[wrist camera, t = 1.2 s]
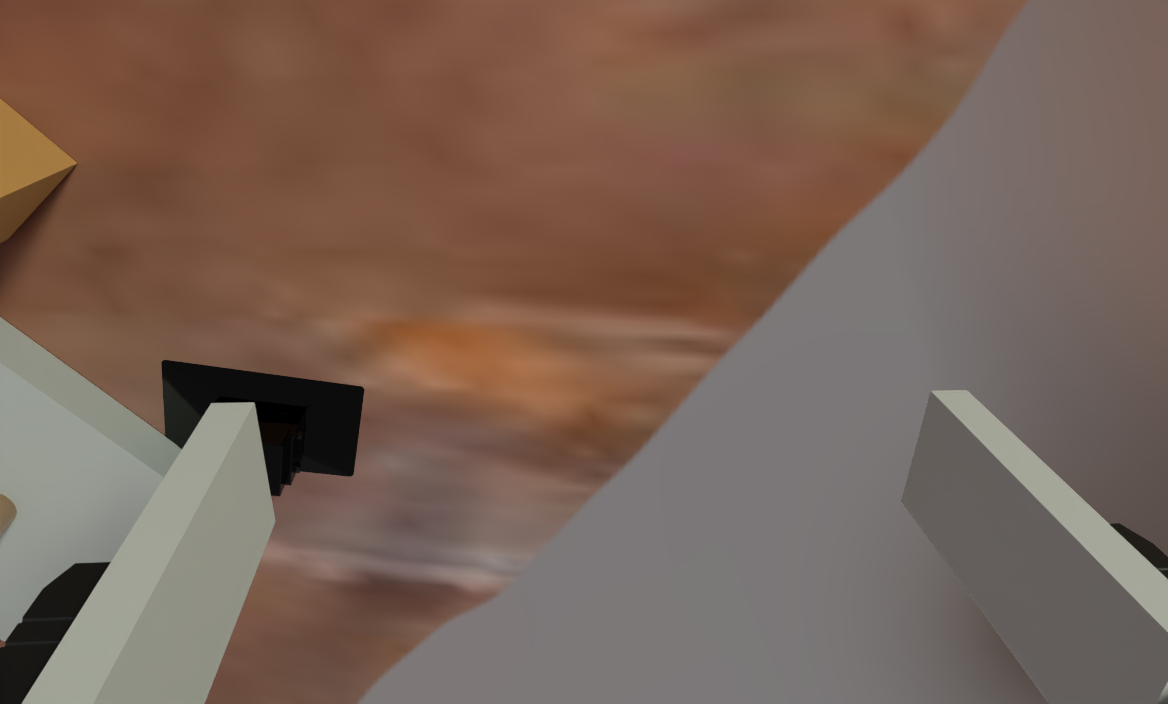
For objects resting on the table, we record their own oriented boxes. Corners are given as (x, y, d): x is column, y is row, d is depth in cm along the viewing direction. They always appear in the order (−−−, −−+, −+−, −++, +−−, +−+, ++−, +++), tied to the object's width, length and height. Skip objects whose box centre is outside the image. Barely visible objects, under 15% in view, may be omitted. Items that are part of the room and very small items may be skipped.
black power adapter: (141, 458, 41) (99, 513, 37) (136, 331, 38) (89, 376, 34) (384, 486, 43) (370, 542, 39) (397, 368, 40) (384, 414, 36)
